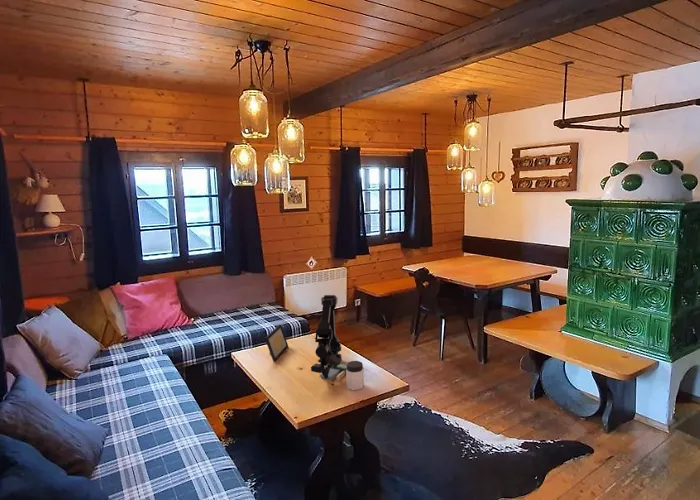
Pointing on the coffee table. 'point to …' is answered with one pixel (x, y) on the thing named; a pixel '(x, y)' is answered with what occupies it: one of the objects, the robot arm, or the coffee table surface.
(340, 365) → the dock
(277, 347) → the picture frame
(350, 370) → the jar
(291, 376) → the coffee table surface
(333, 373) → the slate tile
